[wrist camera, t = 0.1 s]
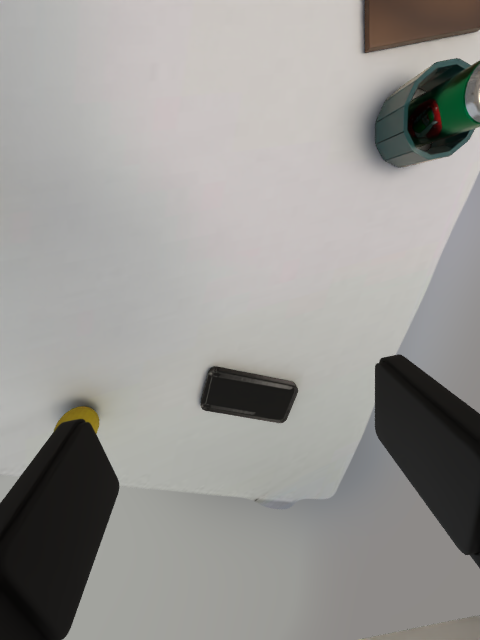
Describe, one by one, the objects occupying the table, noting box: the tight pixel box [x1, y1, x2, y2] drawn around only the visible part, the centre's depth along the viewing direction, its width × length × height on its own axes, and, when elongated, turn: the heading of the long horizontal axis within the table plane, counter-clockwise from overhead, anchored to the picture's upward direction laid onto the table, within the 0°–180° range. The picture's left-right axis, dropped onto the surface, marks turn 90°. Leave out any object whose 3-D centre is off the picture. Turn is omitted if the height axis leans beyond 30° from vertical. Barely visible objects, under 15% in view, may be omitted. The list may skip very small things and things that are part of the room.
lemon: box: [54, 406, 99, 433], centre depth 41 cm, size 6×6×8 cm
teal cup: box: [375, 58, 475, 168], centre depth 31 cm, size 9×9×6 cm
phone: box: [201, 367, 298, 423], centre depth 45 cm, size 8×1×15 cm
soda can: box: [407, 61, 480, 148], centre depth 28 cm, size 5×5×12 cm
